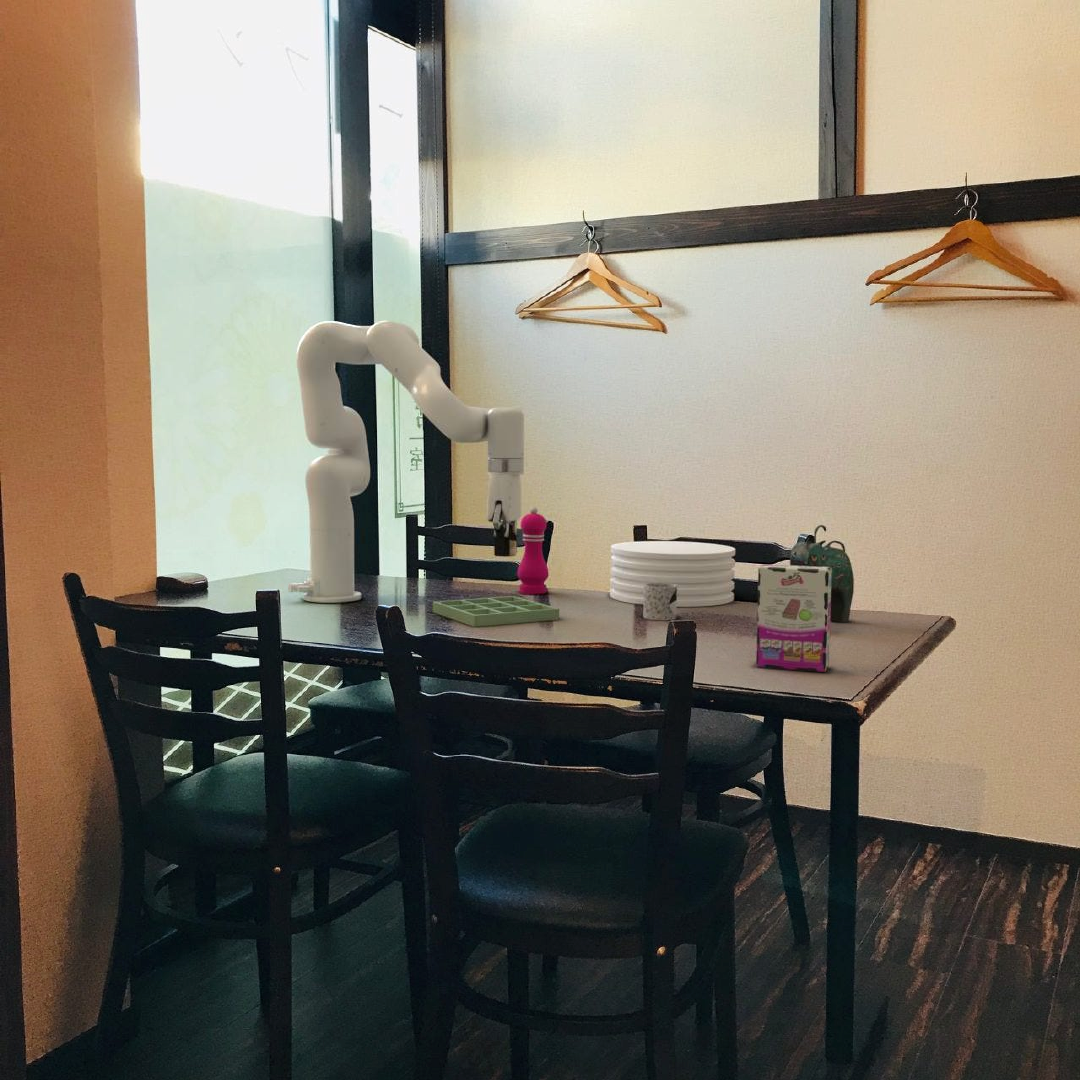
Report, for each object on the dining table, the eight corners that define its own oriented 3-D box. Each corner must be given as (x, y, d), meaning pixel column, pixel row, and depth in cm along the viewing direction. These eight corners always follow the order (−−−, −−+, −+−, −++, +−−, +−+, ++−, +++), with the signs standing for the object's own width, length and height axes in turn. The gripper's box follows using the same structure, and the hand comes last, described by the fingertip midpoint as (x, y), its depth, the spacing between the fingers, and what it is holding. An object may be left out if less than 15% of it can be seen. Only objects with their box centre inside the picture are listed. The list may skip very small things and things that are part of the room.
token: (501, 557, 230) (501, 542, 230) (491, 555, 234) (491, 540, 233) (520, 555, 232) (520, 541, 232) (510, 553, 236) (510, 539, 236)
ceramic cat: (808, 634, 210) (812, 528, 208) (778, 629, 214) (782, 525, 212) (858, 621, 224) (862, 522, 222) (829, 617, 228) (833, 520, 226)
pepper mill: (549, 590, 262) (550, 505, 260) (546, 595, 255) (547, 507, 253) (519, 589, 263) (520, 505, 261) (515, 594, 256) (516, 507, 254)
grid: (474, 626, 213) (474, 615, 213) (432, 612, 229) (432, 601, 229) (559, 619, 222) (559, 608, 222) (513, 606, 239) (513, 595, 238)
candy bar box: (829, 667, 180) (833, 566, 178) (825, 673, 175) (829, 569, 174) (760, 661, 184) (763, 562, 182) (754, 667, 179) (757, 566, 178)
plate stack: (590, 591, 262) (591, 542, 261) (694, 586, 272) (695, 539, 271) (644, 609, 236) (646, 555, 235) (758, 603, 246) (759, 551, 245)
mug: (677, 620, 223) (678, 587, 222) (643, 619, 223) (644, 587, 222) (673, 612, 233) (674, 581, 232) (641, 611, 233) (642, 580, 232)
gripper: (500, 466, 240) (500, 550, 242) (475, 468, 224) (475, 558, 226) (533, 466, 238) (533, 551, 240) (511, 468, 222) (511, 559, 224)
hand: (505, 553), depth 233 cm, fingers closed on token, 4 cm apart
